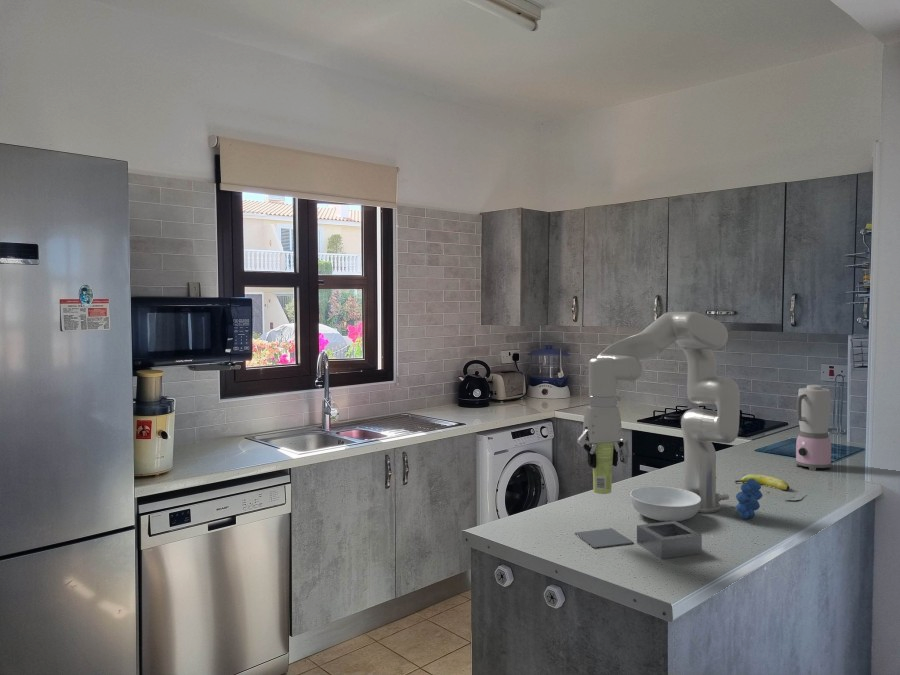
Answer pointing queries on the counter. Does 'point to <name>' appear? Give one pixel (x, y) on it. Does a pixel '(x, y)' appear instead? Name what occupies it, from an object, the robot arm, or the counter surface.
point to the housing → (669, 539)
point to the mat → (604, 538)
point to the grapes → (748, 499)
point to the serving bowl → (665, 503)
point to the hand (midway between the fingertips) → (602, 465)
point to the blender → (813, 427)
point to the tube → (603, 468)
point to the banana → (766, 481)
